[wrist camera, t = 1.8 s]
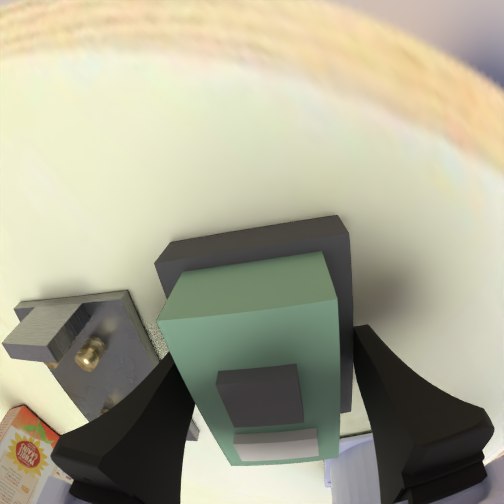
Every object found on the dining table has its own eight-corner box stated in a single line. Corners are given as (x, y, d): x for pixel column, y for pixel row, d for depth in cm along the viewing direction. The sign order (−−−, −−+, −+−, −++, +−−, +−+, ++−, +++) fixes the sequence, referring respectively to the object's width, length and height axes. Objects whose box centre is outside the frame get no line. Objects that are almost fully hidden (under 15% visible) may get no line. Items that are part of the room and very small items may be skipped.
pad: (345, 384, 16) (350, 411, 14) (225, 397, 17) (221, 424, 15) (337, 215, 12) (348, 233, 10) (170, 242, 13) (154, 263, 11)
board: (332, 409, 14) (339, 468, 11) (237, 418, 15) (229, 475, 11) (321, 251, 10) (341, 312, 7) (182, 271, 11) (149, 333, 8)
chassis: (199, 431, 19) (188, 482, 15) (99, 422, 20) (81, 462, 16) (127, 290, 14) (86, 347, 10) (20, 302, 15) (-19, 340, 11)
